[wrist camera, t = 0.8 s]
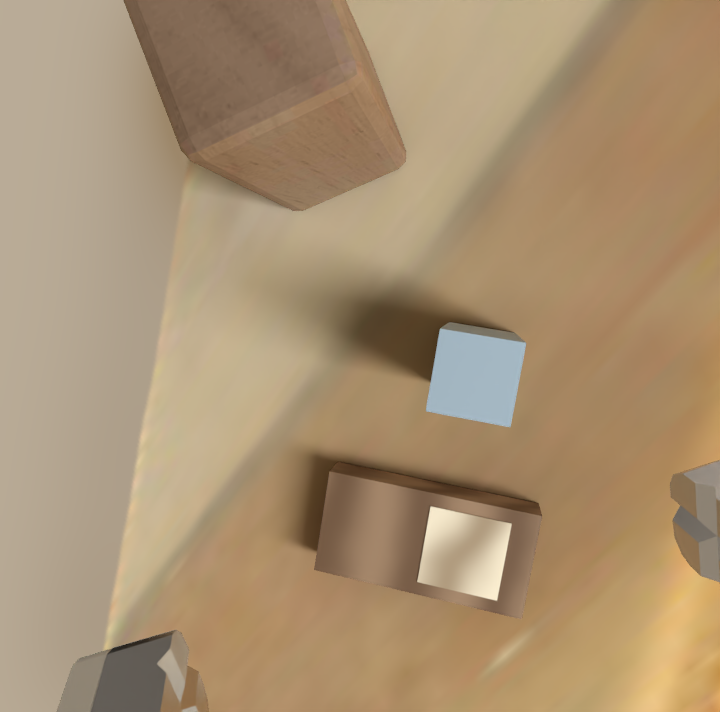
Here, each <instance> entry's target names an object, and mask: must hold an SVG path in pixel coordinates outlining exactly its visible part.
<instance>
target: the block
mask: <svg viewBox="0 0 720 712" xmlns="http://www.w3.org/2000/svg"><path fill="white" fill-rule="evenodd" d="M124 3H125V5H126V8H127V11H128V13H129V16H130V18H131V21H132V23H133V26H134V29H135V31H136V34H137V37H138V39H139V42H140V44H141V47H142V49H143V52H144V54H145V57H146V60H147V62H148V65H149V68H150V70H151V73H152V76H153V78H154V81H155V83H156V86H157V89H158V91H159V94H160V96H161V99H162V102H163V104H164V107H165V109H166V112H167V115H168V117H169V120H170V122H171V125H172V128H173V130H174V133H175V136H176V138H177V141H178V143H179V146H180V149H181V151H182V152H183V153H184V154H185V155H186V156H187V157H188V158H189V159H190V160H191V161H192V162H194V163H196V164H198V165H200V166H203V167H205V168H207V169H209V170H211V171H213V172H215V173H217V174H219V175H221V176H223V177H225V178H227V179H229V180H231V181H233V182H235V183H237V184H240V185H242V186H244V187H246V188H248V189H250V190H252V191H254V192H256V193H258V194H260V195H262V196H264V197H266V198H268V199H270V200H272V201H275V202H277V203H279V204H281V205H283V206H285V207H287V208H289V209H291V210H293V211H303V210H305V209H308V208H310V207H312V206H315V205H317V204H319V203H321V202H324V201H326V200H328V199H331V198H333V197H335V196H337V195H340V194H342V193H344V192H347V191H349V190H351V189H353V188H356V187H358V186H360V185H363V184H365V183H367V182H369V181H372V180H374V179H376V178H379V177H381V176H383V175H385V174H388V173H390V172H392V171H395V170H397V169H399V168H400V167H401V166H402V165H403V164H404V163H405V162H406V150H405V147H404V145H403V142H402V139H401V137H400V134H399V131H398V129H397V126H396V123H395V121H394V118H393V115H392V113H391V110H390V108H389V105H388V102H387V100H386V97H385V94H384V92H383V89H382V86H381V84H380V81H379V79H378V76H377V73H376V71H375V68H374V65H373V63H372V60H371V57H370V55H369V52H368V50H367V47H366V45H365V43H364V41H363V38H362V36H361V34H360V32H359V29H358V27H357V25H356V23H355V20H354V18H353V16H352V13H351V11H350V9H349V7H348V4H347V2H346V0H124Z"/></svg>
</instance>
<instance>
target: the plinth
mask: <svg viewBox="0 0 720 712" xmlns="http://www.w3.org/2000/svg"><path fill="white" fill-rule="evenodd" d="M541 519H542V514H541V511H540V507H539V504H538V503H535V502H530V501H525V500H520V499H515V498H511V497H506V496H501V495H496V494H491V493H487V492H482V491H477V490H472V489H467V488H462V487H458V486H453V485H448V484H443V483H438V482H434V481H429V480H424V479H419V478H414V477H409V476H405V475H400V474H395V473H390V472H385V471H381V470H376V469H371V468H366V467H361V466H357V465H352V464H347V463H342V462H337V463H336V465H335V466H334V467H333V468H332V469H331V470H330V472H329V478H328V484H327V491H326V497H325V504H324V510H323V517H322V523H321V529H320V536H319V542H318V549H317V555H316V562H315V568H314V570H317V571H321V572H326V573H330V574H334V575H338V576H342V577H347V578H351V579H355V580H359V581H363V582H368V583H372V584H376V585H380V586H384V587H389V588H393V589H397V590H401V591H405V592H409V593H414V594H418V595H422V596H426V597H430V598H435V599H439V600H443V601H447V602H451V603H456V604H460V605H464V606H468V607H472V608H477V609H481V610H485V611H489V612H493V613H498V614H502V615H506V616H510V617H514V618H519V619H522V616H523V611H524V606H525V601H526V596H527V591H528V585H529V580H530V575H531V570H532V565H533V560H534V555H535V550H536V545H537V540H538V535H539V530H540V525H541Z"/></svg>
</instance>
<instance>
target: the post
mask: <svg viewBox="0 0 720 712" xmlns="http://www.w3.org/2000/svg"><path fill="white" fill-rule="evenodd" d="M525 347H526V342H525V341H523V340H522V339H521V338H520V337H519V336H518V335H517V334H516V333H513V332H507V331H501V330H495V329H489V328H483V327H477V326H471V325H465V324H459V323H452V322H449V323H447V324H446V325H444V326H443V327H441V328H440V331H439V337H438V343H437V349H436V355H435V360H434V366H433V372H432V378H431V384H430V389H429V395H428V401H427V407H426V411H427V412H433V413H438V414H443V415H449V416H454V417H459V418H464V419H470V420H475V421H480V422H485V423H491V424H496V425H501V426H507V427H511V421H512V416H513V411H514V406H515V400H516V395H517V390H518V384H519V379H520V374H521V368H522V363H523V358H524V352H525Z"/></svg>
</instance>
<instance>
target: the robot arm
mask: <svg viewBox="0 0 720 712" xmlns="http://www.w3.org/2000/svg"><path fill="white" fill-rule="evenodd" d="M670 491H671V498H672V499H674V500H675V501H676V502H677V503H678V504H679V505H680V507H679V509H678V511H677V513H676V515H675V517H674V518H673V528H674V536H675V539H676V542H677V544H678V546H679V549H680V551H681V553H682V555H683V556H684V558H685V559H686V561H687V562H688V563H689V565H690V566H691V567H692V568H693V569H694V570H695V571H696V572H697V573H698V574H699V575H700V576H703V577H706V578H709V579H712V580H715V581H718V582H720V460H718V461H715V462H711V463H708V464H705V465H702V466H699V467H696V468H693V469H689V470H686V471H683V472H680V473H677V474H674V475H673V476H672V479H671V482H670ZM188 654H189V648H188V646H187V644H186V642H185V639H184V637H183V635H182V633H181V632H179V631H177V630H173V631H170V632H166V633H163V634H159V635H156V636H152V637H149V638H145V639H142V640H139V641H135V642H132V643H128V644H125V645H121V646H118V647H114V648H112V649H110V650H105V651H102V652H98V653H95V654H92V655H89V656H85V657H82V658H79V659H78V660H77V661H76V662H75V663H74V664H73V666H72V668H71V671H70V674H69V677H68V680H67V683H66V685H65V688H64V691H63V694H62V697H61V700H60V703H59V706H58V709H57V712H209V708H208V699H207V695H206V692H205V688H204V684H203V682H202V679H201V677H200V674H199V672H198V671H197V670H195V669H193V668H191V667H189V666H187V664H188Z"/></svg>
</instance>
